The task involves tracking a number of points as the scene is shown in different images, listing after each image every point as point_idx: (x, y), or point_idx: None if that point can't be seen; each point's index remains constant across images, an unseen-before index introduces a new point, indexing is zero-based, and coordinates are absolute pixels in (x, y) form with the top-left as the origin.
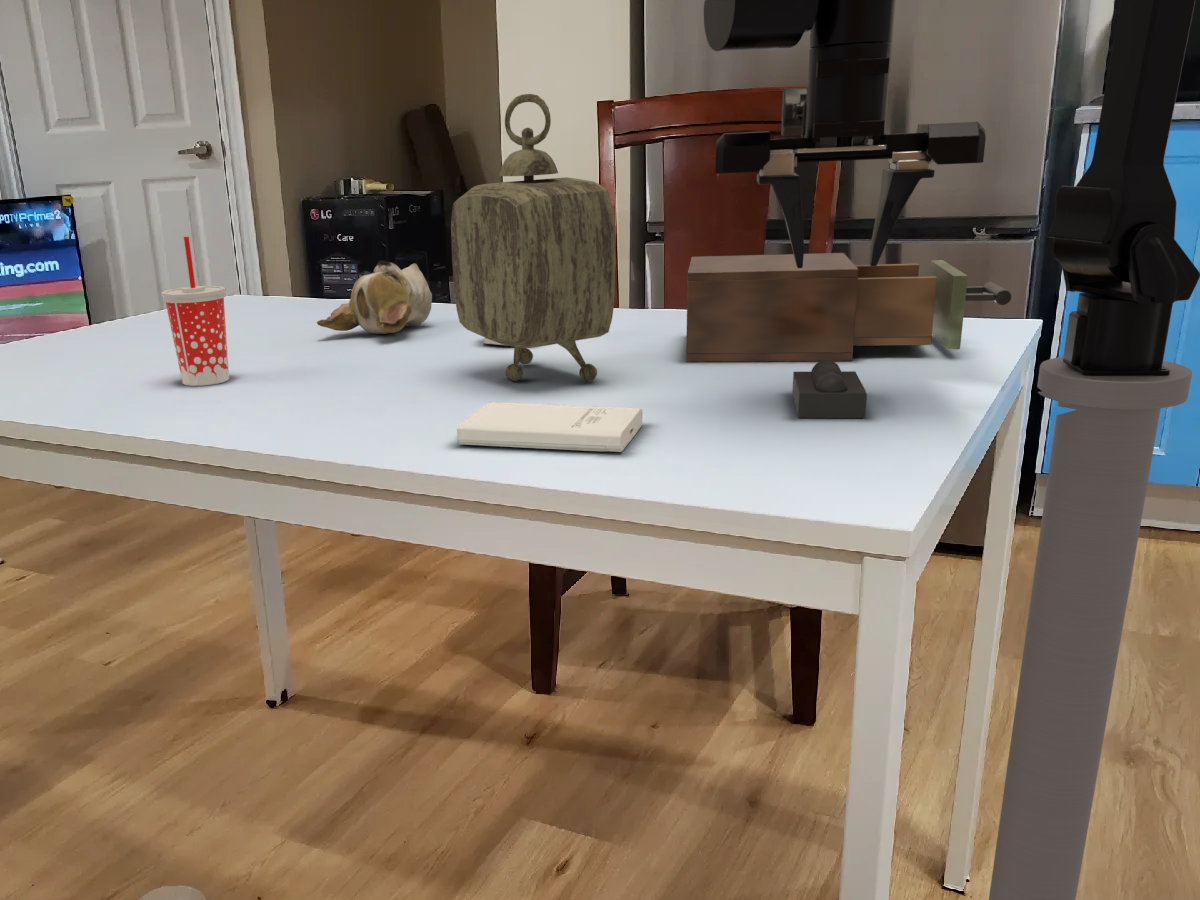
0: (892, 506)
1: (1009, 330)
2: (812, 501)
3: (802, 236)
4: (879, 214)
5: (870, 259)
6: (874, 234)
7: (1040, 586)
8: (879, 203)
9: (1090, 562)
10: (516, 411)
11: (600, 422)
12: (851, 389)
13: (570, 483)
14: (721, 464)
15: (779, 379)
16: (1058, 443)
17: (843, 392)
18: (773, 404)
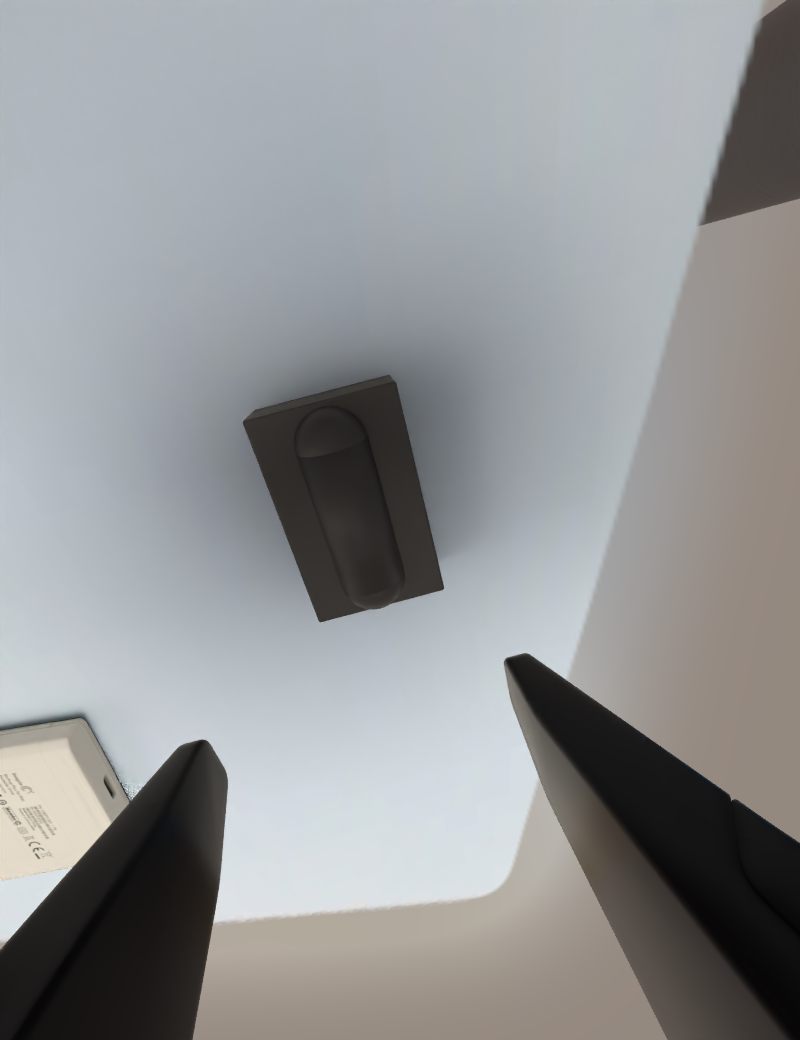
0: (491, 858)
1: None
2: (417, 871)
3: (197, 990)
4: (669, 984)
5: (513, 693)
6: (576, 816)
7: None
8: (745, 1034)
9: None
10: None
11: (61, 827)
12: (412, 571)
13: None
14: (289, 816)
15: (152, 210)
16: (759, 128)
17: (400, 598)
18: (242, 505)
